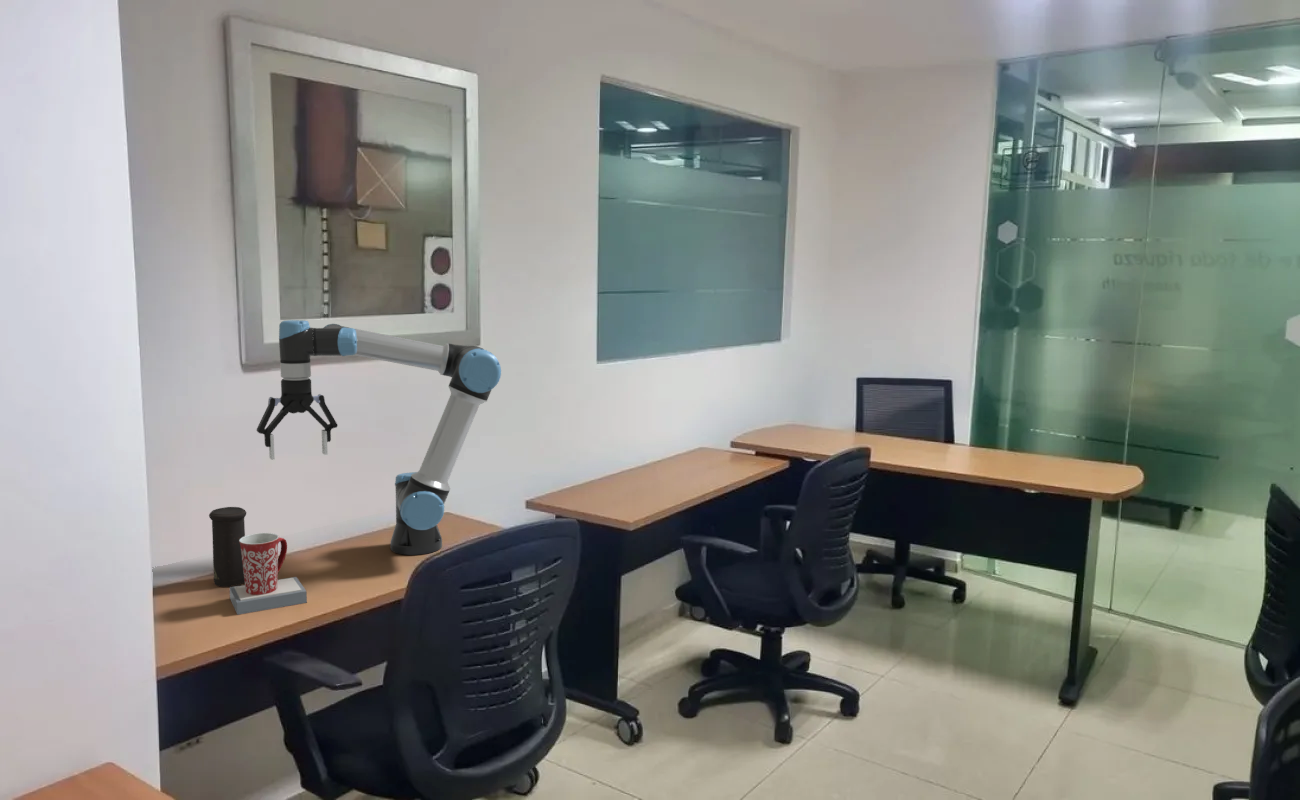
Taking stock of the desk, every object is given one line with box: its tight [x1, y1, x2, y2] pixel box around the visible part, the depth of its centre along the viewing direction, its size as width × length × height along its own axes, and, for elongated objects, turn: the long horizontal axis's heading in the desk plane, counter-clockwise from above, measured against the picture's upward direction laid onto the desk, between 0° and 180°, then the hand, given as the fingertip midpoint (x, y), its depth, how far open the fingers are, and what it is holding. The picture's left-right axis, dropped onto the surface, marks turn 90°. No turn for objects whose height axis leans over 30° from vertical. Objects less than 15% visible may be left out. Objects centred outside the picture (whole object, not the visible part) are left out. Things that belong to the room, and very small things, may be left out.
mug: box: [239, 532, 288, 595], centre depth 222 cm, size 13×9×14 cm
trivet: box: [229, 576, 308, 616], centre depth 223 cm, size 16×12×3 cm
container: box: [208, 506, 247, 588], centre depth 234 cm, size 9×9×20 cm
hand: (298, 456), depth 240 cm, fingers open, 13 cm apart
